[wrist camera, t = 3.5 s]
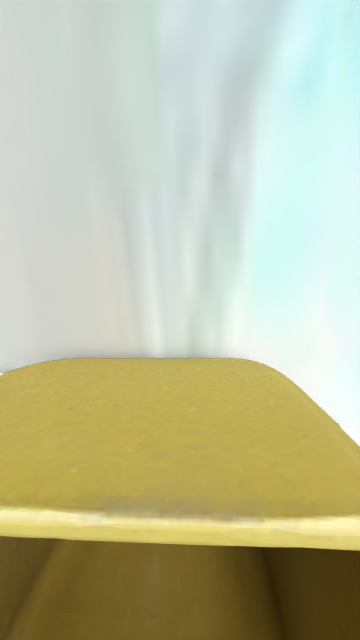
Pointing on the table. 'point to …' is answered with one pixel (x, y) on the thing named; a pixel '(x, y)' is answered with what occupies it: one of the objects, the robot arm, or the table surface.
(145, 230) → the table surface
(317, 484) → the flower pot
